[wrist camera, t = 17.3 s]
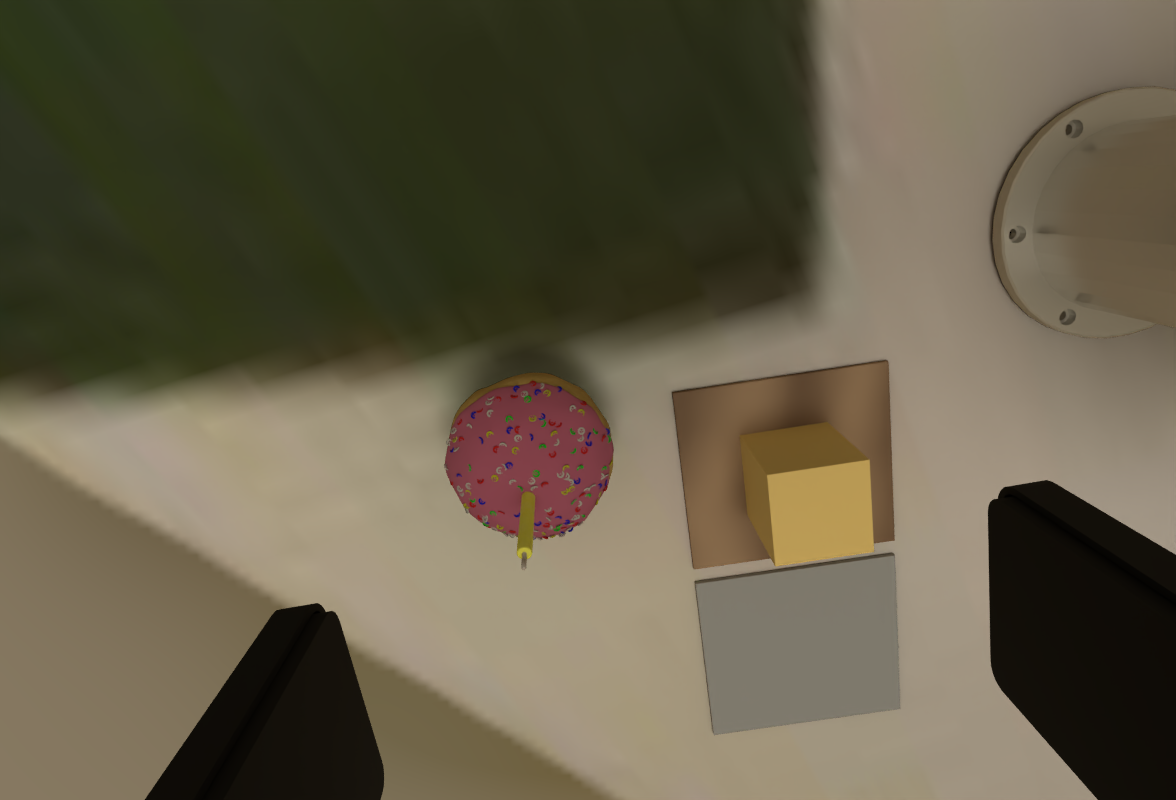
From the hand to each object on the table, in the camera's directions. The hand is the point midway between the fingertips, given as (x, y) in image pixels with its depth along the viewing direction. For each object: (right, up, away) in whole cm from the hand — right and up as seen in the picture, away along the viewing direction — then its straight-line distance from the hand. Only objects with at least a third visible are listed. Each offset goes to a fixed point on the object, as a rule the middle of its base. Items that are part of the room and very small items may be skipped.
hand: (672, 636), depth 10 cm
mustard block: (+10, -1, +32) cm, 33 cm away
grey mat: (+12, -12, +35) cm, 39 cm away
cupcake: (-4, +2, +31) cm, 31 cm away
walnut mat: (+10, -1, +32) cm, 33 cm away
